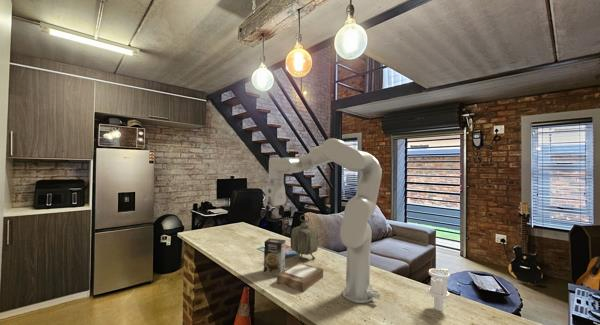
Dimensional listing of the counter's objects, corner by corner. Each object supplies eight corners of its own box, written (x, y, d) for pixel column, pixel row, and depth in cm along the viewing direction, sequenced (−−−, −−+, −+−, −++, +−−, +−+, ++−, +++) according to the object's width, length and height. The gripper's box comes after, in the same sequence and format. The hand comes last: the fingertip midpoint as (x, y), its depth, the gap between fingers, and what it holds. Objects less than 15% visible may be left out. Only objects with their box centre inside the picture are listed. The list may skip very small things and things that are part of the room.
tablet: (279, 243, 176) (279, 242, 176) (305, 252, 159) (305, 251, 159) (256, 249, 163) (256, 248, 163) (281, 260, 145) (281, 259, 145)
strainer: (453, 313, 95) (454, 273, 95) (435, 314, 94) (436, 273, 95) (441, 303, 102) (442, 265, 102) (424, 303, 101) (425, 265, 102)
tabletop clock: (318, 259, 147) (318, 215, 147) (308, 264, 140) (309, 218, 140) (298, 253, 156) (299, 212, 156) (288, 257, 149) (289, 214, 149)
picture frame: (323, 277, 124) (323, 267, 124) (302, 292, 109) (302, 281, 109) (298, 270, 131) (299, 261, 131) (276, 283, 116) (277, 273, 116)
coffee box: (263, 274, 126) (263, 241, 126) (268, 269, 132) (269, 237, 132) (280, 276, 123) (281, 243, 123) (285, 271, 129) (285, 239, 129)
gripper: (270, 183, 119) (269, 221, 118) (292, 182, 133) (291, 215, 133) (258, 182, 123) (257, 218, 123) (280, 181, 137) (280, 213, 137)
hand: (275, 216), depth 128 cm, fingers open, 9 cm apart
